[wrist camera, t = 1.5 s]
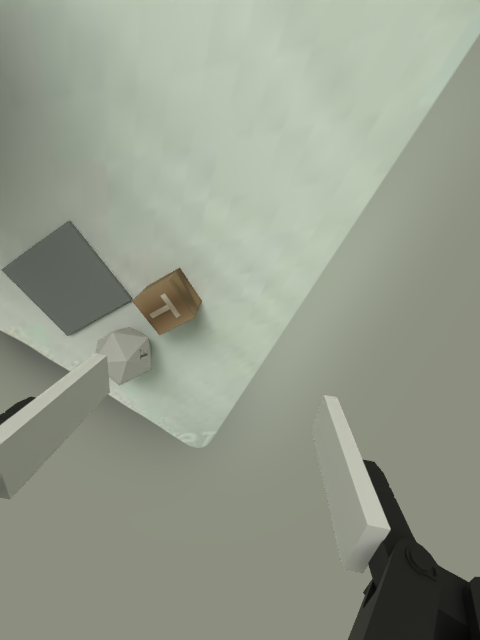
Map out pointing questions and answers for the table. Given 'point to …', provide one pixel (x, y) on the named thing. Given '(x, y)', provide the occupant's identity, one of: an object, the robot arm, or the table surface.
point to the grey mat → (67, 280)
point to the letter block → (168, 302)
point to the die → (125, 354)
